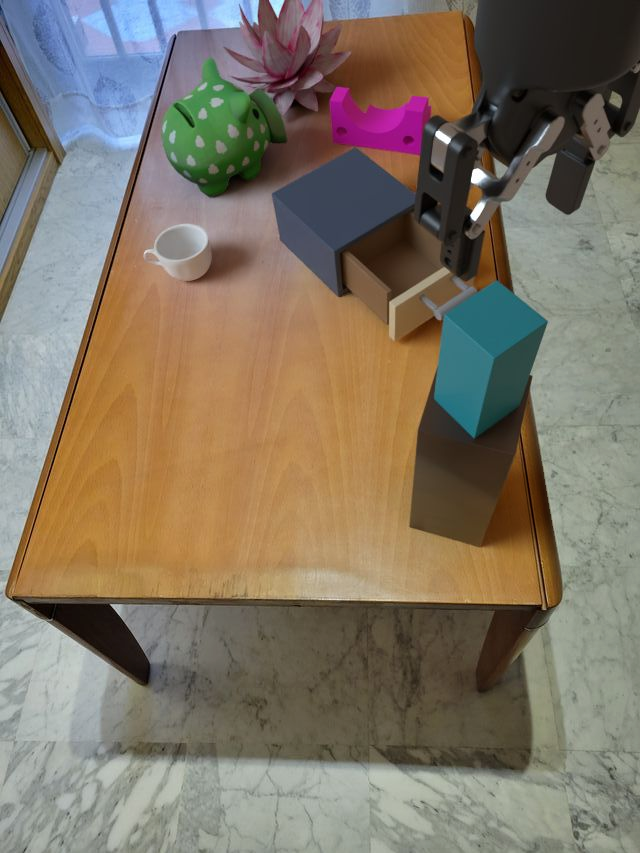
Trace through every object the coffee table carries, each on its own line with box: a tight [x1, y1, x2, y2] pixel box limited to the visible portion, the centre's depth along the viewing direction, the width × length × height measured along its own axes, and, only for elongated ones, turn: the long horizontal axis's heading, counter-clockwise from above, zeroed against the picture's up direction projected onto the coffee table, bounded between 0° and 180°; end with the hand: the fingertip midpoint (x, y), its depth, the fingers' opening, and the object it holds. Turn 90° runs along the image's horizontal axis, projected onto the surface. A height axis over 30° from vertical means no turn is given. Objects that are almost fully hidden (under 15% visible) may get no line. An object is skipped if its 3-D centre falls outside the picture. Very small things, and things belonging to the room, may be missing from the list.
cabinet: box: [271, 146, 416, 298], centre depth 91 cm, size 15×15×9 cm
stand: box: [408, 365, 533, 548], centre depth 63 cm, size 8×8×22 cm
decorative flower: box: [223, 0, 352, 117], centre depth 108 cm, size 21×21×15 cm
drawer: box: [340, 210, 479, 343], centre depth 84 cm, size 18×14×7 cm
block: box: [434, 279, 549, 438], centre depth 49 cm, size 5×5×11 cm
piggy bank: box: [160, 57, 288, 198], centre depth 99 cm, size 14×18×15 cm
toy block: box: [329, 86, 432, 156], centre depth 103 cm, size 15×6×8 cm, turn 71°
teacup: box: [143, 223, 213, 282], centre depth 92 cm, size 10×8×5 cm
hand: (511, 237), depth 39 cm, fingers open, 8 cm apart
